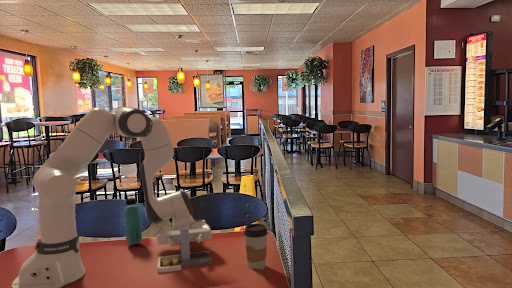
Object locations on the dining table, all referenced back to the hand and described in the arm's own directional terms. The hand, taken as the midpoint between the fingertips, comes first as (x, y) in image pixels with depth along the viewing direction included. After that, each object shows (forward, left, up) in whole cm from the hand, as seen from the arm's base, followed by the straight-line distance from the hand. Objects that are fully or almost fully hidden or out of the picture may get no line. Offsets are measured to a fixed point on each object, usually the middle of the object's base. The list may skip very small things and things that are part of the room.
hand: (185, 242), depth 140 cm
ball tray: (-6, 0, -9) cm, 11 cm away
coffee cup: (+24, -8, -9) cm, 27 cm away
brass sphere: (-5, +1, -8) cm, 10 cm away
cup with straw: (-53, +24, -9) cm, 58 cm away
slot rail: (+3, +1, -9) cm, 10 cm away
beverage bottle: (-21, +27, -9) cm, 35 cm away
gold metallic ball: (-8, +1, -8) cm, 12 cm away
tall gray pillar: (0, +1, -8) cm, 8 cm away
